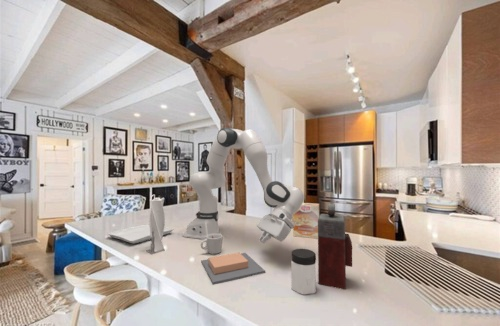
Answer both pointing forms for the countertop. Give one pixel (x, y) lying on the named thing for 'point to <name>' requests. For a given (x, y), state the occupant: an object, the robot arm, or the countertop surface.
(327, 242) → the dark red grey-topped box
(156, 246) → the skyscraper
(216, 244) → the cup
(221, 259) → the peach rectangular block
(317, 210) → the coffeecake box
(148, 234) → the square plate
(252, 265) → the mat
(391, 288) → the countertop surface
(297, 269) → the jar
